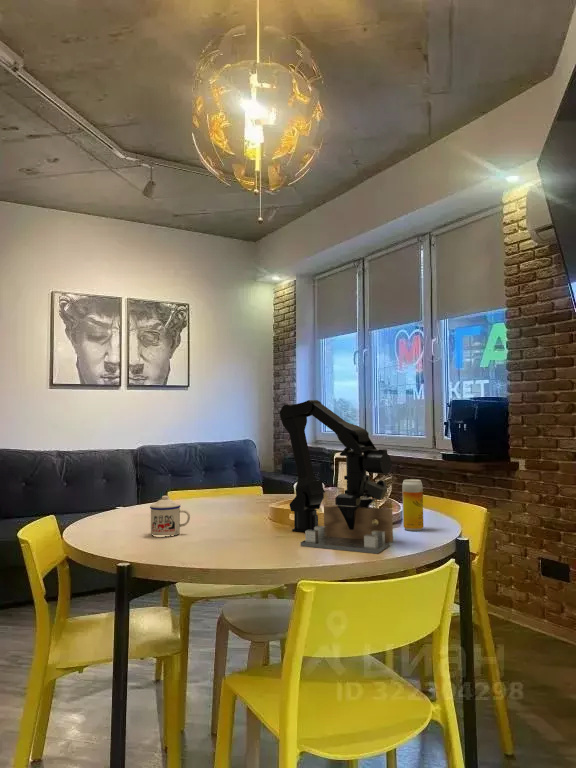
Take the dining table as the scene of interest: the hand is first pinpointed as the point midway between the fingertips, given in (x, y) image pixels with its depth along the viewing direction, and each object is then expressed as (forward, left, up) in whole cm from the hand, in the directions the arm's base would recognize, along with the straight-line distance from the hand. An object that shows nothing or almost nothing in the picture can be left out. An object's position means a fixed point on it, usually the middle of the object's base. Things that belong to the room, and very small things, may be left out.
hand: (357, 526), depth 170 cm
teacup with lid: (-54, -17, -4) cm, 57 cm away
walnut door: (0, 0, -4) cm, 4 cm away
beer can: (+11, +19, -4) cm, 22 cm away
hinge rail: (0, -10, -3) cm, 11 cm away
